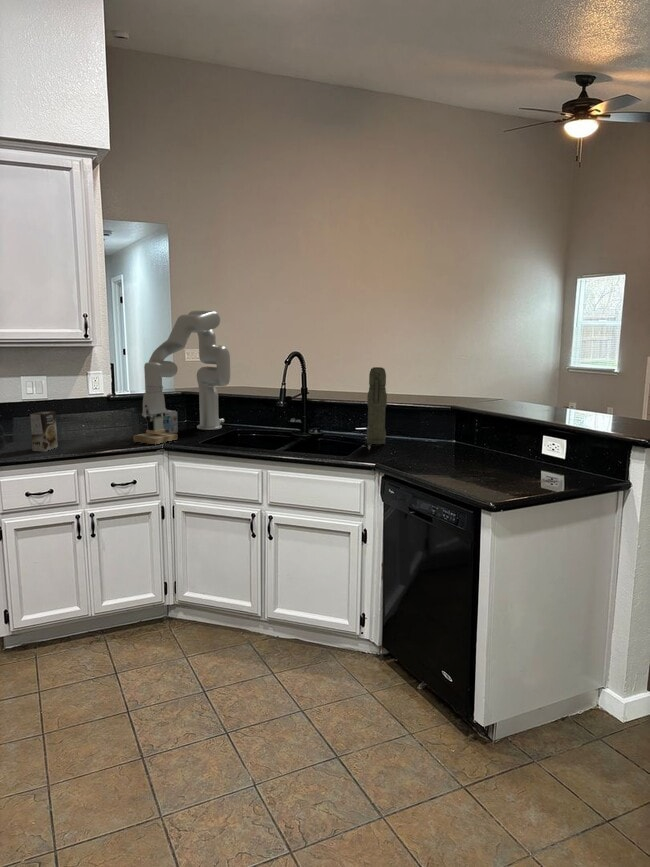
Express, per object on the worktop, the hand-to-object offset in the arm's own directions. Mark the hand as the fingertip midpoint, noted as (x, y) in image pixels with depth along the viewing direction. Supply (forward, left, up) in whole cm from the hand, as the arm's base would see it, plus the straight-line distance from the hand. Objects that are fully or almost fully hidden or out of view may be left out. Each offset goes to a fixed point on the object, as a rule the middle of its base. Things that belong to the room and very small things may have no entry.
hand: (155, 428), depth 296 cm
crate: (0, 0, -2) cm, 2 cm away
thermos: (-53, +87, -6) cm, 102 cm away
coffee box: (+39, -26, -6) cm, 47 cm away
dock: (0, 0, -6) cm, 6 cm away
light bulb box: (-17, -11, -6) cm, 21 cm away
